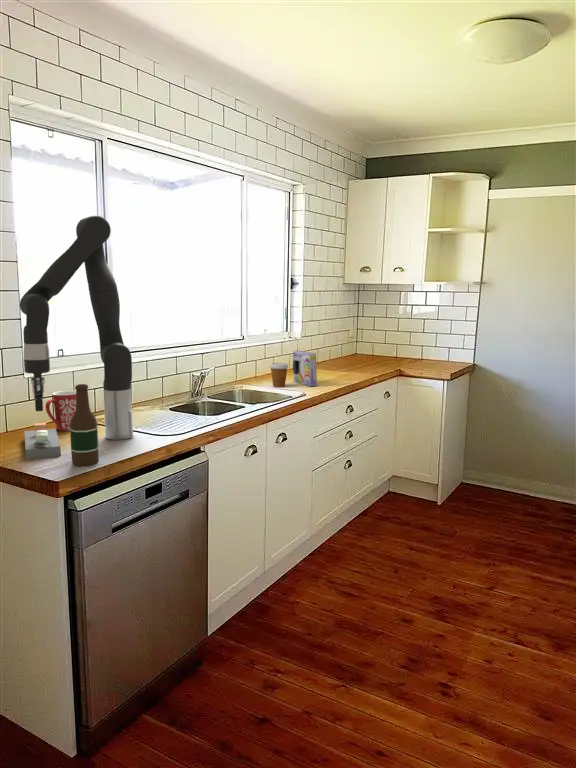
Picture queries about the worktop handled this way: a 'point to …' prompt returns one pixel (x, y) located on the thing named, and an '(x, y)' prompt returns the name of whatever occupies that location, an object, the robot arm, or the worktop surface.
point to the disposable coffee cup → (279, 374)
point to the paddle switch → (40, 427)
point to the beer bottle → (83, 431)
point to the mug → (62, 408)
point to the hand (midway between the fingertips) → (39, 410)
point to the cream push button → (41, 431)
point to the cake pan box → (304, 368)
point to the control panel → (42, 445)
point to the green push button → (42, 437)
